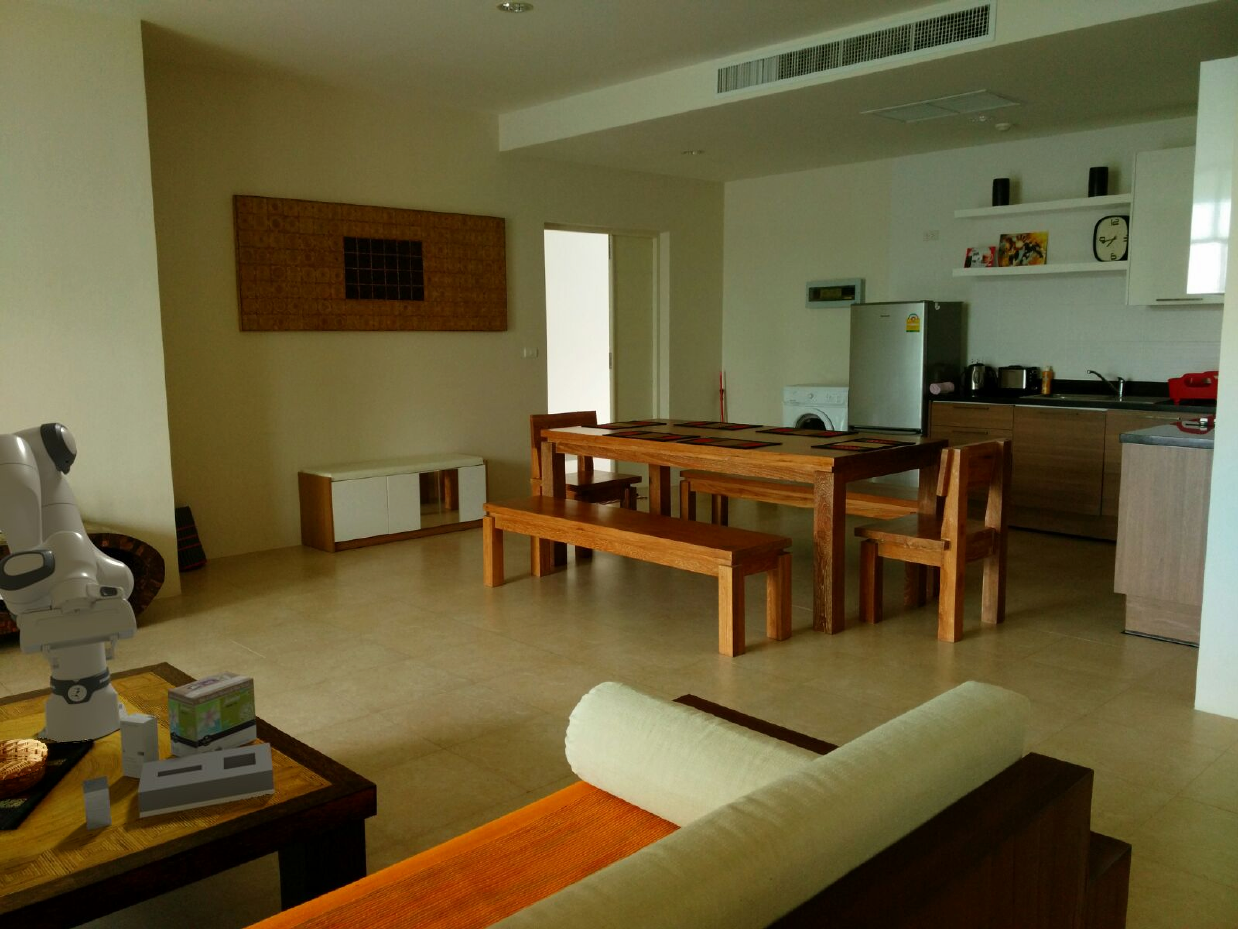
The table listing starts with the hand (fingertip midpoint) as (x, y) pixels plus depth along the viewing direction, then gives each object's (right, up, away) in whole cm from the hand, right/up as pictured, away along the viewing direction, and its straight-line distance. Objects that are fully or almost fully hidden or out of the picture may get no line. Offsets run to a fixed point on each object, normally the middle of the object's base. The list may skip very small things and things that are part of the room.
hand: (82, 663), depth 191 cm
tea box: (+15, -24, +26) cm, 39 cm away
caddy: (+22, -27, +6) cm, 35 cm away
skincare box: (+5, -26, +14) cm, 30 cm away
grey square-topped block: (+7, -29, -7) cm, 30 cm away
